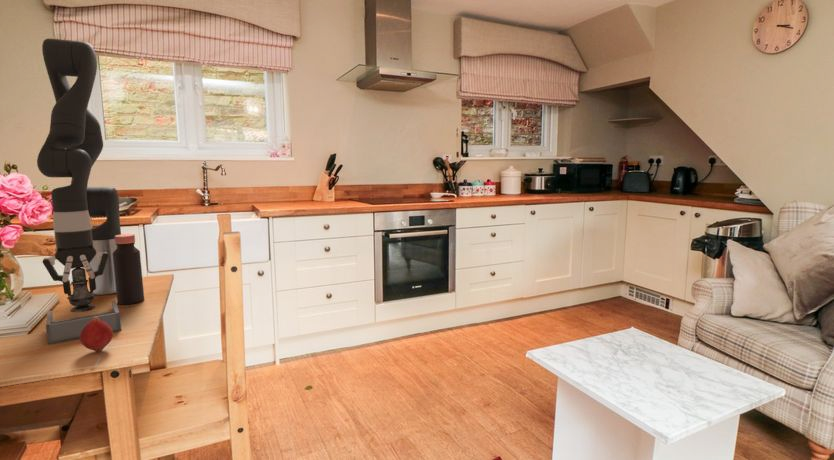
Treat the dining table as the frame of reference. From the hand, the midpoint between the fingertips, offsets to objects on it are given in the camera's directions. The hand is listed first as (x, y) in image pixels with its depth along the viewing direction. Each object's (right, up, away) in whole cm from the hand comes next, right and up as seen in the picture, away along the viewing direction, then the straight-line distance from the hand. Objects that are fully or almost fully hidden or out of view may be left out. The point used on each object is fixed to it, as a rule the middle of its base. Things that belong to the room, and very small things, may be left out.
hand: (80, 293), depth 116 cm
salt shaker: (0, -4, +1) cm, 5 cm away
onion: (+17, -11, -18) cm, 27 cm away
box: (+5, -8, -5) cm, 11 cm away
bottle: (+3, -5, +17) cm, 18 cm away
